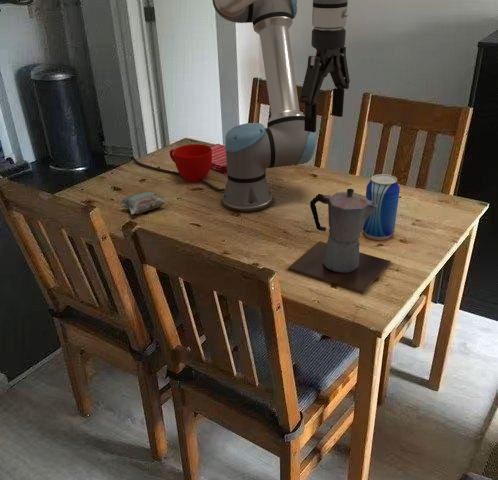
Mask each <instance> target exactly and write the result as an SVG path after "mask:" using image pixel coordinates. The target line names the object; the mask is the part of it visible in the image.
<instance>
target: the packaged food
mask: <svg viewBox="0 0 498 480" xmlns="http://www.w3.org/2000/svg"><path fill="white" fill-rule="evenodd" d="M167 202H168V201H167V200H166V199H163V198H161V197H159V196H158V195H157V194H156V193H155V192H152V191H148V190H146V191H142V192H139V193H135V194H130V195H128V196H126V197H124V198H122V201H121V202H120V205H119V206H120V208H121V209H122V208H124V209H127V210H129V212H130V215H131V216H132V215H134V214H135V215H140V214H142V213H146V212H149V211H152V210H155V209H157V208H160V207H162V206H163V205H165V204H167Z"/></svg>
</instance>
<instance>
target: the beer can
mask: <svg viewBox="0 0 498 480" xmlns="http://www.w3.org/2000/svg"><path fill="white" fill-rule="evenodd" d="M400 189H401V187H400V185H399V183H398V178H397V177H396V176H395V175H391V174H386V173H381V174H380V173H379V174H374V175H373V176H371V178H370V181H369V182H368V183H367V185H366V189H365V196H366V198H367V199H368V200H370V201H373V202H374V203H376V205H377V207H376V208H374V210H373V211H372V212H371V214H370V215H369V217H368V218H367V220H366V221H365V224H364V227H363V230H362V232H363V233H364V235H365V236H366V237H367V238H368V239H370V240H374V241H384V240H388V239H390V238H391V236H393V235H394V233H395V231H396V230H395V228H396V220H397V215H398V214H397V213H398V206H399V198H400Z"/></svg>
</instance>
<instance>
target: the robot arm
mask: <svg viewBox="0 0 498 480" xmlns="http://www.w3.org/2000/svg"><path fill="white" fill-rule="evenodd" d="M211 1H212V5H213V8H214V10H215V12H216V13H217V14H218V15H219V17H221V18H222V19H224V20H226V21H228V22H232V23H235V24H247V23H252V28H253V31H254V32H255V33H256V34H258V35H259V39H260V46H261V47H260V48H261V54H262V61H263V68H264V74H265V75H264V76H265V82H266V89H267V96H268V102H269V109H270V110H269V111H270V118H269V119H268V121H267V123H266V124H267V125H266V126H267V127H265V125H264V124H263V123H260V122H247V123H242V124H238V125H236V126H233V127H232V128H230V129H229V130H227V132H226V134H225V142H224V143H225V144H224V146H225V150H226V162H227V172H226V176H227V178H226V179H227V180H226V184H225V187H224V188H218V187H215V186H213V184H211V183H210V182H207V181H206V180H205V179H204V180H201V179H200V180H199V182H201V183H203V184H205V185H207V186H209V187H210V188H211V189H213V190H214V191H217V192H223V194H222V205H223V206H224V207H225V209H228V210H229V211H230V210H231V211H233V212H237V213H253V212H259V211H263V210H265V209H267V208H269V207H270V206H271V205H272V203H273V195H272V194H273V189H270V187H269V184H268V180H267V177H266V171H267V170H268V169H275V168H283V167H288V166H289V167H290V166H298V165H303V164H307V163H309V162H310V161H311V160H312V159H313V156H314V154H315V149H316V142H317V141H316V132H317V118H318V117H317V116H318V112H317V111H318V103H316V101H317V99H318V96H319V93H320V90H321V87H322V85H323V82H324V80H325V78H327V76H328V74H329V75H330V78H331V79H332V82H333V85H334V88H332V100H331V101H332V103H331V117H332V116H333V117H338V118H342V117H343V115H344V102H345V90H349V88H350V81H351V80H350V73H349V67H348V59H347V47H346V46H345V45H346V34H347V30H346V28H344V27H346V26H347V18H348V17H349V12H348V4H349V3H348V2H349V0H312V16H311V26H312V27H313V29H312V30H311V40H310V41H311V44H310V45H311V47H312V48H313V49H316V51H315V52H316V53H315V56H314V55H309V56H308V57H307V67H306V72H305V75H304V79H303V83H302V87H301V91H300V96H299V98H298V89H297V81H296V75H295V74H296V73H295V67H294V60H293V54H292V45H291V38H290V32H289V30H290V28H291V26H292V25H293V20H294V19H295V18H296V17H297V13H298V6H297V5H298V0H211ZM299 103H301V104H304V114H303V113H302V112H301V111H300V104H299ZM130 160H131V161H134V162H135V164H138V165H139V166H141V167H145V168H147V169H151V170H156V171H160V172H164V173H170V174H173V175H178V176H181V174H180V173H179V172H178V171H173V170H168V169H163V168H161V167H155V166H151V165H148V164H145V163H142V162H139V161H138V160H137V159H136V157H135V156H131V158H130Z"/></svg>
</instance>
